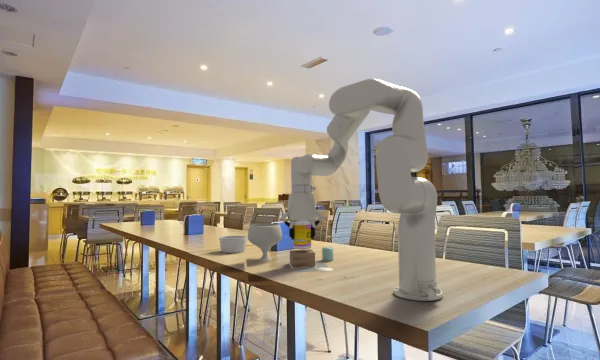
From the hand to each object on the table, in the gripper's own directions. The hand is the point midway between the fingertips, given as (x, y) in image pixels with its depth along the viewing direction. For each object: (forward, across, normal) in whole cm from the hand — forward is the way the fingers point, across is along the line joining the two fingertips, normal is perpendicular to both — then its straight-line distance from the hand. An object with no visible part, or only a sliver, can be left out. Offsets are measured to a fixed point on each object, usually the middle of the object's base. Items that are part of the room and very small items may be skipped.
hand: (302, 238), depth 129 cm
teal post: (+11, -11, -7) cm, 17 cm away
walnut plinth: (+10, 0, 0) cm, 10 cm away
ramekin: (+11, +26, -45) cm, 53 cm away
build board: (+11, -2, +3) cm, 11 cm away
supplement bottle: (+4, 0, 0) cm, 4 cm away
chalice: (+11, +13, -15) cm, 23 cm away
